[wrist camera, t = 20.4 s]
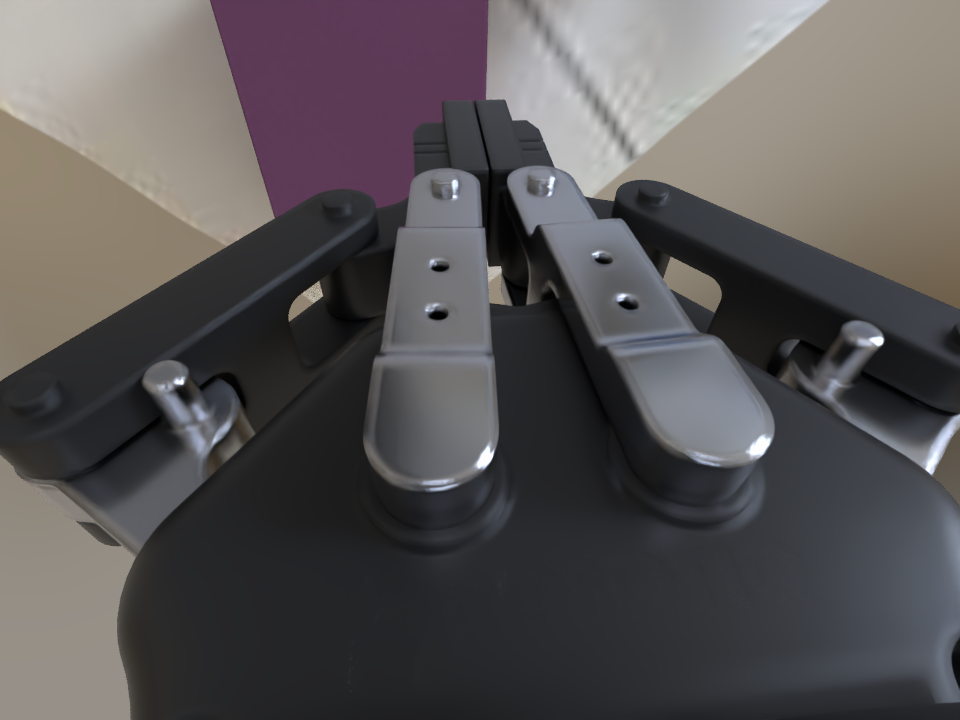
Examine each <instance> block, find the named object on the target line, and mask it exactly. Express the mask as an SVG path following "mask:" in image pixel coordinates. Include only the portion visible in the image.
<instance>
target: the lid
mask: <svg viewBox="0 0 960 720" xmlns="http://www.w3.org/2000/svg"><path fill="white" fill-rule="evenodd" d="M210 2H211V5H212V8H213V12H214V15H215V19H216V22H217V25H218V29H219V32H220V35H221V39H222V42H223V45H224V49H225V52H226V55H227V59H228V62H229V66H230V69H231V72H232V76H233V79H234V82H235V86H236V89H237V92H238V96H239V99H240V102H241V106H242V109H243V113H244V116H245V119H246V123H247V126H248V129H249V133H250V136H251V139H252V143H253V146H254V149H255V153H256V156H257V160H258V163H259V166H260V170H261V173H262V176H263V180H264V183H265V186H266V190H267V193H268V196H269V200H270V203H271V207H272V210H273V213H274V217H275V218H277V217H278V216H280V215H282V214H283V213H285V212H287V211H288V210H290V209H292V208H294V207H295V206H297V205H299V204H300V203H302V202H304V201H305V200H307V199H309V198H310V197H312V196H314V195H316V194H319V193H321V192H325V191H329V190H336V189H351V190H357V191H361V192H364V193H366V194H368V195H369V196H371V197H372V198H373V199H374V201H375V204H376V209H377V208H381V207H386V206H390V205H393V204H396V203H398V202H401V201H403V200H404V199H406V198H407V197H408V196H409V193H410V185H411V182H412V180H413V179H414V178H415V170H414V142H413V132H414V131H415V130H416V129H417V128H418V126H419V125H420V124H421V123H437V122H442V101H463V100H472V101H473V104H474V101H475V100H486V70H487V33H488V0H210Z"/></svg>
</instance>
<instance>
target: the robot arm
mask: <svg viewBox="0 0 960 720" xmlns="http://www.w3.org/2000/svg"><path fill="white" fill-rule="evenodd" d="M413 142H414V170H415V178H414V179H413V180H412V182H411V185H410V193H409V196H408V197H407V198H406V199H404V200H403V201H401V202H398V203H396V204H393V205H390V206H386V207H381V208H377V209H376V204H375V201H374V199H373V198H372V197H371V196H369V195H368V194H366V193H364V192H361V191H357V190H351V189H336V190H329V191H325V192H321V193H319V194H316V195H314V196H312V197H310V198H309V199H307V200H305V201H304V202H302V203H300V204H299V205H297V206H295V207H294V208H292V209H290V210H288V211H287V212H285V213H283V214H282V215H280V216H278V217H277V218H275V219H273V220H272V221H270V222H268V223H266V224H265V225H263V226H261V227H260V228H258V229H256V230H255V231H253V232H251V233H250V234H248V235H246V236H244V237H243V238H241V239H239V240H238V241H236V242H234V243H233V244H231V245H229V246H228V247H226V248H224V249H222V250H221V251H219V252H217V253H216V254H214V255H212V256H211V257H209V258H207V259H206V260H204V261H202V262H200V263H199V264H197V265H195V266H194V267H192V268H190V269H189V270H187V271H185V272H184V273H182V274H180V275H178V276H177V277H175V278H173V279H172V280H170V281H168V282H167V283H165V284H163V285H162V286H160V287H158V288H157V289H155V290H153V291H151V292H150V293H148V294H146V295H145V296H143V297H141V298H140V299H138V300H136V301H134V302H133V303H131V304H129V305H128V306H126V307H124V308H123V309H121V310H119V311H118V312H116V313H114V314H112V315H111V316H109V317H107V318H106V319H104V320H102V321H101V322H99V323H97V324H96V325H94V326H92V327H90V328H89V329H87V330H85V331H84V332H82V333H81V334H79V335H77V336H75V337H74V338H72V339H70V340H69V341H67V342H65V343H63V344H62V345H60V346H58V347H57V348H55V349H53V350H52V351H50V352H48V353H47V354H45V355H43V356H41V357H40V358H38V359H37V360H35V361H33V362H32V363H30V364H28V365H26V366H25V367H23V368H21V369H20V370H18V371H16V372H14V373H13V374H11V375H9V376H8V377H6V378H5V379H3V380H2V381H0V455H1V456H2V457H3V458H5V459H6V460H7V461H8V462H9V463H10V464H11V465H12V466H14V470H15V472H16V473H17V475H18V476H19V477H21V478H22V479H23V480H24V481H25V482H26V483H27V484H29V485H30V486H31V487H32V488H33V489H34V490H36V491H37V492H38V493H39V494H40V495H41V496H42V497H44V498H45V499H46V500H47V501H48V502H50V503H51V504H52V505H53V506H54V507H55V508H56V509H57V510H59V511H60V512H61V513H62V514H63V515H65V516H66V517H67V518H69V519H71V520H74V521H76V522H77V523H79V524H80V525H81V526H82V527H83V528H84V529H85V530H87V531H88V532H89V533H90V534H91V535H92V536H93V537H95V538H96V539H97V540H98V541H99V542H101V543H104V544H106V545H110V546H123V547H124V548H125V549H126V550H127V551H128V552H130V553H131V554H132V555H133V556H134V557H136V558H135V561H134V563H133V565H132V567H131V569H130V572H129V574H128V576H127V578H126V581H125V585H124V588H123V591H122V595H121V598H120V605H119V611H118V618H117V634H118V635H117V636H118V645H119V650H120V655H121V659H122V662H123V666H124V670H125V673H126V678H127V683H128V690H129V698H130V711H131V712H130V713H131V720H960V506H959V504H958V503H957V502H956V500H955V499H954V498H953V496H952V495H951V494H950V493H949V492H948V491H947V490H946V489H945V488H944V486H942V484H941V483H939V482H938V481H937V480H936V479H935V478H934V477H933V476H932V475H933V473H934V471H935V469H936V467H937V465H938V463H939V461H940V459H941V457H942V455H943V453H944V451H945V449H946V447H947V445H948V443H949V441H950V439H951V437H952V435H953V434H954V433H955V432H956V431H957V430H958V429H960V309H957V308H955V307H953V306H950V305H948V304H945V303H943V302H941V301H939V300H936V299H934V298H931V297H929V296H927V295H925V294H922V293H920V292H918V291H915V290H913V289H911V288H908V287H906V286H904V285H901V284H899V283H897V282H894V281H892V280H889V279H887V278H885V277H883V276H880V275H878V274H876V273H873V272H871V271H869V270H866V269H864V268H862V267H859V266H857V265H855V264H852V263H850V262H848V261H845V260H843V259H841V258H838V257H836V256H834V255H831V254H829V253H827V252H824V251H822V250H820V249H818V248H815V247H813V246H811V245H808V244H806V243H803V242H801V241H799V240H797V239H794V238H792V237H790V236H787V235H785V234H782V233H780V232H778V231H776V230H773V229H771V228H769V227H766V226H764V225H762V224H759V223H757V222H755V221H752V220H750V219H748V218H745V217H743V216H741V215H738V214H736V213H733V212H731V211H729V210H727V209H724V208H722V207H720V206H717V205H715V204H713V203H710V202H708V201H706V200H703V199H701V198H699V197H696V196H694V195H692V194H690V193H687V192H685V191H683V190H680V189H678V188H675V187H673V186H671V185H668V184H665V183H662V182H657V181H651V180H635V181H630V182H627V183H625V184H623V185H621V186H620V187H619V188H618V190H617V192H616V196H615V200H614V201H608V200H600V199H594V198H589V197H585V196H584V195H583V193H582V192H581V190H580V188H579V187H578V185H577V183H576V182H575V180H574V179H573V177H572V176H571V175H569V174H568V173H566V172H565V171H562V170H560V169H557V168H555V167H554V165H553V162H552V160H551V158H550V155H549V153H548V150H547V148H546V145H545V143H544V142H543V138H542V136H541V133H540V131H539V129H538V128H536V127H535V126H534V125H532V124H531V123H529V122H528V121H527V120H522V121H512V119H511V116H510V113H509V110H508V107H507V104H506V101H505V100H475V101H474V104H473V101H472V100H463V101H442V122H437V123H421V124H420V125H419V126H418V128H417V129H416V130H415V131H414V132H413ZM670 257H673V258H675V259H677V260H679V261H681V262H683V263H685V264H687V265H689V266H691V267H693V268H695V269H697V270H699V271H701V272H703V273H705V274H707V275H709V276H710V277H712V278H713V279H715V280H716V281H717V283H718V284H719V285H720V288H721V291H722V298H721V301H720V303H719V306H718V308H717V310H716V312H715V313H714V312H712V311H710V310H708V309H706V308H704V307H703V306H701V305H699V304H697V303H695V302H693V301H691V300H690V299H688V298H686V297H684V296H682V295H680V294H678V293H677V292H675V291H673V290H671V289H669V287H668V286H667V284H666V283H665V282H664V280H663V277H664V275H665V271H666V268H667V266H668V263H669V260H670ZM487 261H488V266H489V267H491V266H501V268H502V274H501V293H502V296H503V299H504V302H505V305H500V304H491V303H489V289H488V272H487ZM318 281H320V285H321V289H322V293H323V297H322V298H320V299H319V300H318V301H316V302H315V303H314V304H312V305H311V306H310V307H308V308H307V309H306V310H304V311H303V312H302V313H300V315H298V316H297V317H295V318H294V319H293V320H291V321H290V322H289V320H288V314H289V309H290V307H291V305H292V303H293V301H294V300H295V299H296V298H297V297H298V296H299V295H300V294H301V293H303V292H304V291H306V290H307V289H308V288H310V287H311V286H312V285H314V284H315V283H317V282H318Z"/></svg>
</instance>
